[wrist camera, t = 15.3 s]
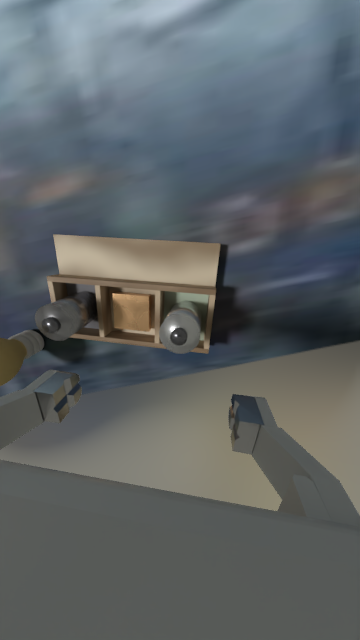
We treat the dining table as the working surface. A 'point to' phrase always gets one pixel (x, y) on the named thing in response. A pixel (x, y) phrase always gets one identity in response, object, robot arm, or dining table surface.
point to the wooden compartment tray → (136, 281)
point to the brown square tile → (132, 311)
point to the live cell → (181, 327)
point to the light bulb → (17, 352)
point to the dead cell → (66, 315)
